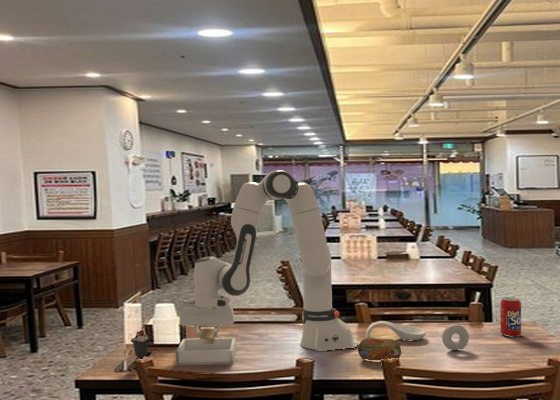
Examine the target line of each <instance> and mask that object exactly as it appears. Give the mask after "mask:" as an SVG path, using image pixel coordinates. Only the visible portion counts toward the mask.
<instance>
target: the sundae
mask: <svg viewBox="0 0 560 400" xmlns="http://www.w3.org/2000/svg"><path fill="white" fill-rule="evenodd" d="M144 328H145V326H142V327H141V329H140V331H136V335H135V336H134V337H133V338H131V339H130V343H132V344H133V349H134V354H135V356H136V357H137V358H138V359H139V360H140V359H143V360H144V358H145V357H146V355H147V354H148V347H149V341H151V338H150V337H148V335H147V334H146V332H145V330H144Z"/></svg>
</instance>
